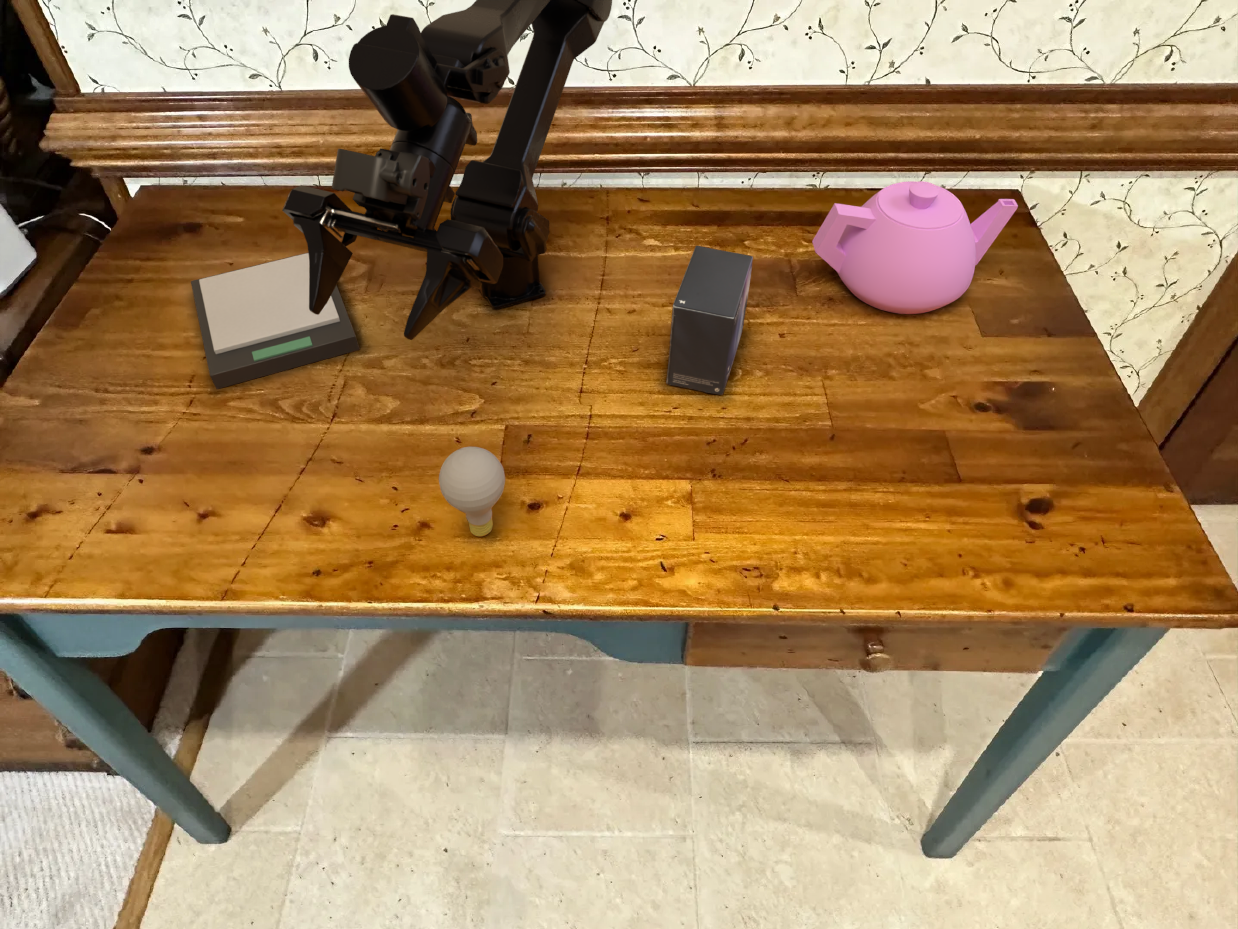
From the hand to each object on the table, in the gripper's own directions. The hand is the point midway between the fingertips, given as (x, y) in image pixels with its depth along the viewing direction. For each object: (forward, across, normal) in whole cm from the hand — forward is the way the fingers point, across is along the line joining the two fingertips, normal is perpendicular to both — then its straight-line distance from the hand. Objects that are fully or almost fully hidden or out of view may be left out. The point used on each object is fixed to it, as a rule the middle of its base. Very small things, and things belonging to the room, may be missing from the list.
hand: (359, 325), depth 74 cm
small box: (-12, +25, +25) cm, 37 cm away
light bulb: (+13, +13, +10) cm, 21 cm away
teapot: (-30, +42, +36) cm, 63 cm away
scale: (-3, -23, +19) cm, 30 cm away
